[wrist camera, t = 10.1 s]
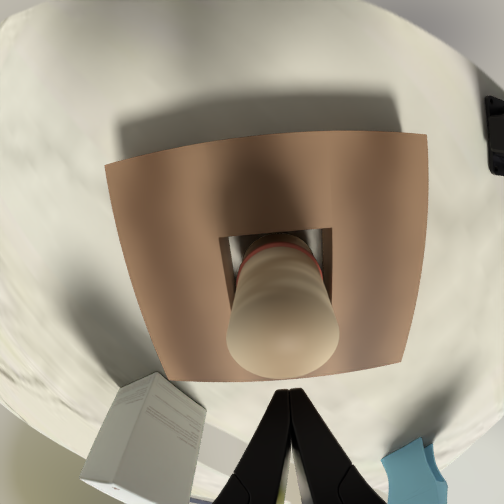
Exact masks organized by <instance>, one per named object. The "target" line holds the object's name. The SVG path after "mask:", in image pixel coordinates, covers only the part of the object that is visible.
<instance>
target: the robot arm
mask: <svg viewBox="0 0 504 504" xmlns="http://www.w3.org/2000/svg"><path fill="white" fill-rule="evenodd" d="M485 105H486V113H487V122H488V133H489V151H490V171H491V173H492V174H494V175H500V176H504V101H503V100H500V99H498V98H495V97H493V96H486V97H485ZM291 444H292V452H293V458H294V463H295V469H296V474H297V479H298V485H299V490H300V495H301V501H302V504H387V503H386V502H385V501H384V500H383V499H382V498H381V497H380V496H379V495H378V494H377V493H376V492H375V491H374V490H373V489H372V488H371V487H370V486H369V484H368V483H367V482H366V481H365V479H364V478H363V477H362V476H361V474H360V473H359V472H358V470H357V469H356V467H355V466H354V465H352V462H351V460H350V459H349V457H348V456H347V455H346V453H345V452H344V450H343V449H342V447H341V446H340V444H339V443H338V441H337V440H336V438H335V437H334V435H333V434H332V432H331V431H330V429H329V428H328V427H327V425H326V424H325V422H324V421H323V419H322V417H321V416H320V414H319V413H318V411H317V410H316V408H315V407H314V405H313V404H312V402H311V401H310V399H309V398H308V396H307V395H306V393H305V392H304V390H303V389H302V388H293V389H290V390H288V389H279V390H276V391H275V393H274V395H273V397H272V399H271V401H270V403H269V405H268V407H267V410H266V412H265V414H264V416H263V418H262V420H261V422H260V424H259V426H258V427H257V429H256V431H255V433H254V435H253V437H252V439H251V441H250V443H249V445H248V447H247V448H246V450H245V452H244V454H243V456H242V458H241V459H240V461H239V463H238V465H237V467H236V468H235V470H234V474H232V475H231V477H230V478H229V480H228V482H227V483H226V485H225V486H224V488H223V489H222V491H221V492H220V494H219V495H218V497H217V498H216V499H215V500H214V502H213V503H212V504H284V500H285V493H286V485H287V479H288V471H289V463H290V455H291Z"/></svg>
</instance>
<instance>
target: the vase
mask: <svg viewBox="0 0 504 504" xmlns="http://www.w3.org/2000/svg"><path fill="white" fill-rule="evenodd" d="M381 462H382V464H383V466H384V468H385V470H386V473H387V476H388V481H389V495H388V504H447V488H448V486H447V483H446V481H445V479H444V478H443V477H442V475H441V473H440V471H439V469H438V467H437V465H436V462H435V458H434V451H433V444H430V445H429V446H427V447H425V448H424V447H423V442H422V438H421V437H419V438H418V439H416V440H414V441H413V442H411V443H409V444H408V445H406V446H404V447H402V448H400V449H399V450H397V451H395V452H393V453H391V454H389V455H387V456H386V457H384V458H382V459H381Z"/></svg>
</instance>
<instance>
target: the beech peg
mask: <svg viewBox="0 0 504 504" xmlns="http://www.w3.org/2000/svg"><path fill="white" fill-rule="evenodd" d="M236 285H237V288H236V293H235V297H234V302H233V306H232V311H231V316H230V320H229V325H228V329H227V336H226V341H227V346H228V350H229V352H230V354H231V356H232V357H233V359H234V360H235V361H236V362H237V363H238V364H239V365H240V366H241V367H243V368H244V369H246V370H247V371H249V372H251V373H253V374H256V375H258V376H262V377H266V378H272V379H288V378H295V377H299V376H303V375H305V374H308V373H310V372H312V371H314V370H316V369H318V368H319V367H321V366H322V365H323V364H324V363H326V362H327V361H328V359H329V358H330V357H331V356H332V354H333V353H334V351H335V349H336V347H337V345H338V341H339V326H338V323H337V320H336V317H335V314H334V311H333V308H332V305H331V303H330V300H329V297H328V294H327V291H326V288H325V286H324V283H323V276H322V272H321V269H320V267H319V264H318V262H317V260H316V259H315V257H314V256H313V253H312V251H311V249H310V248H309V247H308V245H307V244H306V243H305V242H304V241H302V240H301V239H299V238H297V237H296V236H293V235H290V234H285V233H273V234H269V235H265V236H263V237H261V238H259V239H257V240H256V241H255V242H253V243H252V244H251V245H250V247H249V248H248V249H247V251H246V253H245V255H244V257H243V261H242V263H241V265H240V268H239V271H238V275H237V282H236Z"/></svg>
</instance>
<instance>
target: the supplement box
mask: <svg viewBox="0 0 504 504" xmlns="http://www.w3.org/2000/svg"><path fill="white" fill-rule="evenodd" d="M206 412H207V410H206V409H204V408H203V407H201V406H200V405H198V404H197V403H196V402H194V401H193V400H192V399H190V398H189V397H188V396H186V395H185V394H184V393H183V392H181V391H180V390H179V389H178V388H176V387H175V386H174V385H173V384H171V383H170V382H169V381H168V380H167V379H165V378H164V377H163V376H162V375H161V374H159V373H158V372H156V373H153V374H151V375H149V376H146V377H144V378H142V379H140V380H138V381H135V382H133V383H131V384H129V385H126V386H124V387H122V388H120V389H119V391H118V393H117V395H116V397H115V399H114V401H113V403H112V405H111V407H110V409H109V411H108V413H107V416H106V418H105V420H104V422H103V424H102V426H101V428H100V431H99V433H98V435H97V437H96V439H95V441H94V443H93V446H92V448H91V450H90V453H89V455H88V457H87V459H86V462H85V464H84V467H83V470H82V471H81V474H80V476H79V479H81V480H82V481H84V482H86V483H88V484H89V485H91V486H93V487H95V488H96V489H98V490H100V491H102V492H104V493H106V494H108V495H110V496H112V497H114V498H116V499H118V500H120V501H122V502H124V503H126V504H189V501H190V496H191V490H192V485H193V479H194V474H195V469H196V464H197V459H198V454H199V448H200V443H201V438H202V433H203V427H204V422H205V417H206Z"/></svg>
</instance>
